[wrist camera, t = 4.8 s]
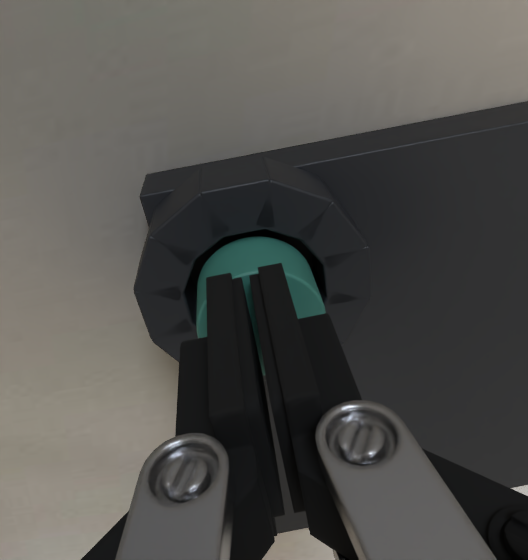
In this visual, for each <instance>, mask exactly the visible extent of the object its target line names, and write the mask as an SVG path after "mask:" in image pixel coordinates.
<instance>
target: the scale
mask: <svg viewBox="0 0 528 560" xmlns="http://www.w3.org/2000/svg"><path fill="white" fill-rule="evenodd" d="M140 200H141V203H142V206H143V209H144V212H145V216H146V219H147V222H148V225H149V230H148V234H147V237H146V241H145V244H144V248H143V251H142V255H141V259H140V263H139V268H138V272H137V276H136V280H135V284H134V294H135V296H136V299H137V302H138V305H139V307H140V310H141V313H142V316H143V318H144V321H145V324H146V327H147V329H148V332H149V335H150V337H151V339H152V341H153V342H154V343H155V344H156V345H158V346H159V347H160V348H161V349H163V350H164V351H165V352H167V353H168V354H169V355H170V356H172V357H173V358H174V359H176V360H177V361H178V362H179V361H180V346H181V343H182V342H183V341H188V340H193V339H198V336H197V330H196V314H197V284H198V278H199V275H200V272H201V270H202V268H203V266H204V264H205V263H206V261H207V260H208V259H209V258H210V257H211V255H213V254H214V253H215V252H216V251H217V250H218V249H220V248H221V247H223V246H224V245H226V244H228V243H230V242H232V241H235V240H238V239H241V238H245V237H253V236H263V237H271V238H275V239H278V240H281V241H284V242H286V243H288V244H290V245H291V246H293V247H294V248H295V249H297V250H298V251H299V252H300V253H301V254H302V255H303V256H304V258H305V259H306V260H307V262H308V264H309V266H310V269H311V271H312V274H313V277H314V279H315V282H316V285H317V287H318V290H319V293H320V295H321V298H322V301H323V303H324V306H325V311H326V313H328V314H329V316H330V318H331V320H332V323H333V326H334V328H335V331H336V333H337V336H338V339H339V341H340V344H341V346H342V349H343V351H344V354H345V357H346V359H347V362H348V364H349V367H350V370H351V372H352V375H353V377H354V380H355V382H356V385H357V388H358V390H359V393H360V395H361V398H362V400H365V401H372V402H376V403H379V404H383V405H384V406H386V407H388V408H389V409H391V410H393V411H394V412H395V413H396V414H397V415H398V416H399V417H400V418H401V419H402V420H403V422H404V423H405V425H406V426H407V428H408V429H409V431H410V432H411V434H412V435H413V437H414V438H415V439H416V441H417V442H418V444H419V445H420V447H421V448H422V449H425V450H427V451H429V452H431V453H433V454H436V455H438V456H440V457H442V458H444V459H447V460H449V461H451V462H453V463H455V464H458V465H460V466H462V467H464V468H466V469H469V470H471V471H473V472H475V473H477V474H480V475H482V476H484V477H486V478H488V479H491V480H493V481H495V482H497V483H499V484H502V485H504V486H506V487H508V488H513V487H518V486H523V485H528V102H523V103H517V104H512V105H507V106H502V107H497V108H491V109H486V110H481V111H476V112H470V113H465V114H460V115H455V116H450V117H444V118H439V119H434V120H429V121H423V122H418V123H413V124H408V125H403V126H397V127H392V128H387V129H382V130H376V131H371V132H366V133H361V134H356V135H350V136H345V137H340V138H335V139H329V140H324V141H319V142H314V143H308V144H303V145H298V146H293V147H288V148H282V149H277V150H272V151H267V152H261V153H256V154H251V155H246V156H241V157H235V158H230V159H225V160H220V161H214V162H209V163H204V164H199V165H194V166H188V167H183V168H178V169H173V170H167V171H162V172H157V173H152V174H147V175H146V177H145V181H144V184H143V187H142V190H141V193H140ZM263 379H264V385H265V391H266V397H267V403H268V410H269V416H270V422H271V429H272V435H273V441H274V447H275V454H276V460H277V466H278V472H279V479H280V485H281V491H282V497H283V504H284V510H285V515H284V516H279V517H275V523H276V530H277V534H278V533H283V532H288V531H293V530H298V529H303V528H308V527H309V526H308V521H307V516H306V511H304V512H299V513H294V510H293V506H292V501H291V496H290V492H289V487H288V483H287V478H286V473H285V469H284V464H283V459H282V455H281V450H280V446H279V441H278V436H277V432H276V427H275V423H274V418H273V413H272V408H271V403H270V398H269V392H268V386H267V380H266V375H263Z"/></svg>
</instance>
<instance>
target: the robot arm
mask: <svg viewBox="0 0 528 560" xmlns="http://www.w3.org/2000/svg"><path fill="white" fill-rule="evenodd" d="M257 268H258V273H259V274H254V275H249V278H250V284H251V290H252V296H253V302H254V308H255V314H256V320H257V326H258V332H259V338H260V344H261V350H262V356H263V362H264V368H265V374H266V380H267V386H268V392H269V398H270V403H271V408H272V413H273V418H274V423H275V427H276V432H277V436H278V441H279V446H280V450H281V455H282V459H283V464H284V469H285V473H286V478H287V483H288V487H289V492H290V496H291V501H292V506H293V510H294V513H299V512H304V511H306V516H307V521H308V526H309V531H310V534H311V535H312V536H314V537H315V538H317V539H318V540H320V541H321V542H323V543H324V544H326V545H327V546H329V547H330V548H332V549H333V554H334V558H335V560H528V496H526V495H524V494H521V493H519V492H517V491H515V490H513V489H510V488H508V487H506V486H504V485H502V484H499V483H497V482H495V481H493V480H491V479H488V478H486V477H484V476H482V475H480V474H477V473H475V472H473V471H471V470H469V469H466V468H464V467H462V466H460V465H458V464H455V463H453V462H451V461H449V460H447V459H444V458H442V457H440V456H438V455H436V454H433V453H431V452H429V451H427V450H425V449H422V448H421V447H420V445H419V444H418V442H417V441H416V439H415V438H414V437H413V435H412V434H411V432H410V431H409V429H408V428H407V426H406V425H405V423H404V422H403V420H402V419H401V418H400V417H399V416H398V415H397V414H396V413H395V412H394V411H393V410H391V409H389V408H388V407H386V406H384V405H383V404H379V403H376V402H372V401H365V400H362V398H361V395H360V393H359V390H358V388H357V385H356V382H355V380H354V377H353V375H352V372H351V370H350V367H349V364H348V362H347V359H346V357H345V354H344V351H343V349H342V346H341V344H340V341H339V339H338V336H337V333H336V331H335V328H334V326H333V323H332V320H331V318H330V316H329V314H328V313H325V314H320V315H315V316H310V317H305V318H300V319H298V318H297V314H296V311H295V307H294V304H293V300H292V297H291V294H290V290H289V287H288V283H287V280H286V276H285V273H284V269H283V266H282V263H277V264H272V265H267V266H261V267H257ZM206 299H207V337H204V338H199V339H193V340H188V341H183V342H182V343H181V346H180V361H179V380H178V398H177V417H176V435H175V437H174V438H172V439H169V440H167V441H165V442H164V443H163V444H161V445H160V446H159V447H157V448H156V449H155V450H154V451H153V452H152V453H151V454H150V456H149V457H148V458H147V459H146V461H145V463H144V465H143V467H142V469H141V471H140V474H139V478H138V481H137V485H136V488H135V492H134V495H133V499H132V502H131V506H130V509H129V511H128V512H127V513H126V514H125V515H124V516H123V517H122V518H121V519H120V520H119V521H118V523H117V524H116V525H115V526H114V527H113V528H112V529H111V530H110V531H109V532H108V533H107V534H106V535H105V536H104V537H103V538H102V539H101V540H100V541H99V542H98V543H97V544H96V545H95V546H94V547H93V548H92V549H91V550H90V551H89V552H88V553H87V554H86V555H85V556H84V557H83V558H82V559H81V560H262V558H263V557H264V556H265V554H266V553H267V551H268V550H269V549H270V547H271V546H272V544H273V543H274V542H275V540H274V536H277V530H276V523H275V517H279V516H284V515H285V510H284V504H283V497H282V491H281V485H280V479H279V472H278V466H277V460H276V454H275V447H274V441H273V435H272V429H271V422H270V416H269V410H268V403H267V397H266V391H265V385H264V379H263V373H262V368H261V364H260V359H259V355H258V350H257V345H256V341H255V336H254V332H253V327H252V322H251V318H250V313H249V309H248V304H247V300H246V295H245V290H244V286H243V281H242V278H241V277H239V278H234V279H232V275H231V273H226V274H221V275H216V276H211V277H207V278H206Z"/></svg>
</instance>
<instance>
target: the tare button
mask: <svg viewBox="0 0 528 560" xmlns="http://www.w3.org/2000/svg"><path fill="white" fill-rule="evenodd" d="M277 263H282V266H283V269H284V273H285V276H286V280H287V283H288V287H289V290H290V294H291V297H292V300H293V304H294V307H295V311H296V314H297V318H298V319H300V318H305V317H310V316H315V315H320V314H325V313H326V311H325V306H324V303H323V301H322V298H321V295H320V293H319V290H318V287H317V285H316V282H315V279H314V277H313V274H312V271H311V269H310V266H309V264H308V262H307V260H306V259H305V258H304V256H303V255H302V254H301V253H300V252H299V251H298V250H297V249H295V248H294V247H293V246H291V245H290V244H288V243H286V242H284V241H281V240H278V239H275V238H271V237H263V236H253V237H245V238H241V239H238V240H235V241H232V242H230V243H228V244H226V245H224V246H223V247H221V248H220V249H218V250H217V251H216V252H215V253H214V254H213V255H211V257H210V258H209V259H208V260H207V261H206V263H205V264H204V266H203V268H202V270H201V272H200V275H199V278H198V284H197V314H196V330H197V336H198V339H199V338H204V337H207V299H206V278H207V277H211V276H216V275H221V274H226V273H231V275H232V279H234V278H239V277H241V278H242V281H243V286H244V290H245V295H246V300H247V304H248V309H249V313H250V318H251V322H252V327H253V332H254V336H255V341H256V345H257V350H258V355H259V359H260V364H261V368H262V373H263V375H266V374H265V368H264V362H263V356H262V350H261V344H260V338H259V332H258V326H257V320H256V314H255V308H254V302H253V296H252V290H251V284H250V278H249V275H254V274H259V273H258V268H257V267H261V266H267V265H272V264H277Z"/></svg>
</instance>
